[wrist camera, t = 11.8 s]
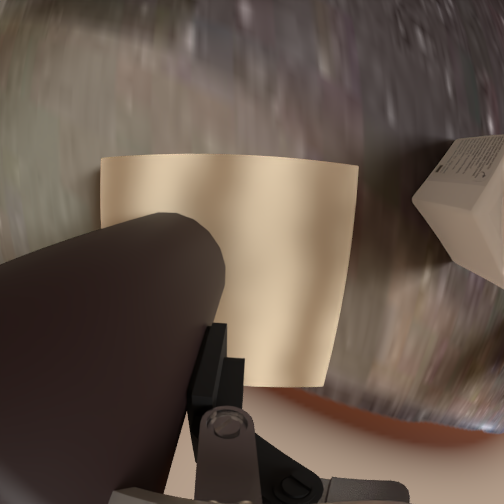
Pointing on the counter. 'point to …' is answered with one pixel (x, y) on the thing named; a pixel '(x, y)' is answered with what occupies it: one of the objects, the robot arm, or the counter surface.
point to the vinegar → (102, 357)
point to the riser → (257, 247)
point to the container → (469, 204)
